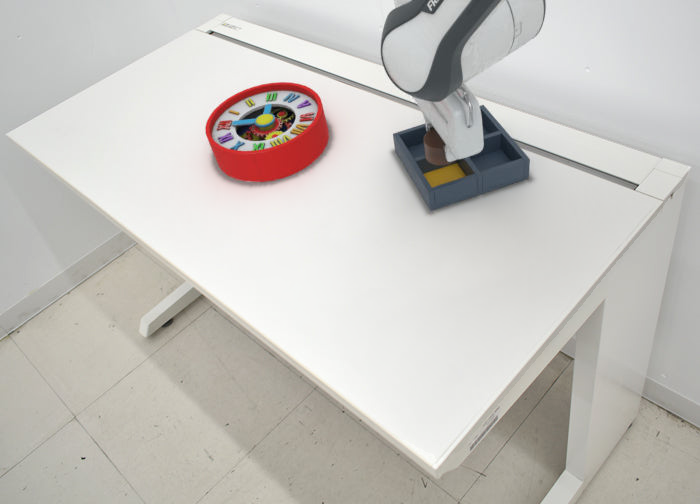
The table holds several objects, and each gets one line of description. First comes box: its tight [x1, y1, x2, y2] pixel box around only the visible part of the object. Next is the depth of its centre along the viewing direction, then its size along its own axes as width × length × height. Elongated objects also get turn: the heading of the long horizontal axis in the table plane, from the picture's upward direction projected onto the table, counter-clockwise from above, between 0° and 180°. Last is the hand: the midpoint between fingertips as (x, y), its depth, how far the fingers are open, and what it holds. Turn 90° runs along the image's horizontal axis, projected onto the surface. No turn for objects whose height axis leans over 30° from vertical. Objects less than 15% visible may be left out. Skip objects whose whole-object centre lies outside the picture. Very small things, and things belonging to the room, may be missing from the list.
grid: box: [392, 104, 531, 212], centre depth 92 cm, size 15×15×4 cm
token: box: [424, 128, 456, 166], centre depth 85 cm, size 5×5×3 cm
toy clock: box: [204, 81, 330, 183], centre depth 103 cm, size 20×6×20 cm
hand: (442, 145), depth 85 cm, fingers closed on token, 5 cm apart
